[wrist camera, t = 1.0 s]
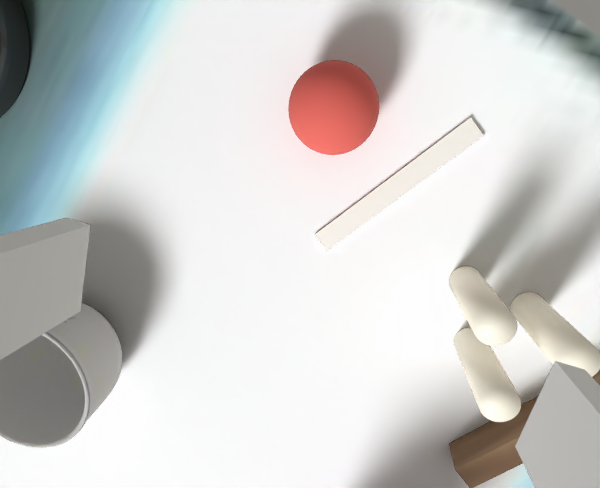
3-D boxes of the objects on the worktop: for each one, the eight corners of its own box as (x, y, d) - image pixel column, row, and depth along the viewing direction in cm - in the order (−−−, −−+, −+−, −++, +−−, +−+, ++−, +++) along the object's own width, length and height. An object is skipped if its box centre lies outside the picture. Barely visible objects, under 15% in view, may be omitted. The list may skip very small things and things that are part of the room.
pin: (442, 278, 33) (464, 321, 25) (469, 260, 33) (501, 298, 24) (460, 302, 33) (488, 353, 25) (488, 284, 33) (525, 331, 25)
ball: (281, 106, 32) (260, 98, 27) (344, 50, 31) (337, 28, 25) (330, 170, 33) (320, 175, 27) (395, 118, 31) (400, 112, 26)
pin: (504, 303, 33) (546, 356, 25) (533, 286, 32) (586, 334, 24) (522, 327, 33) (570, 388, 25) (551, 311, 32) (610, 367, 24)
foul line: (314, 234, 34) (314, 234, 34) (469, 117, 30) (470, 117, 30) (327, 250, 34) (327, 250, 34) (483, 135, 31) (484, 135, 30)
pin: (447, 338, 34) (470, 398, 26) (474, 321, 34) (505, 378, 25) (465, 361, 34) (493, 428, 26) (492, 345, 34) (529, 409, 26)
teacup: (109, 272, 38) (42, 304, 30) (158, 380, 40) (107, 436, 32) (-11, 315, 41) (-99, 354, 34) (39, 413, 43) (-34, 472, 35)
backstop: (448, 443, 36) (455, 469, 33) (662, 330, 31) (691, 349, 29) (463, 461, 36) (470, 488, 34) (677, 351, 32) (708, 372, 29)
